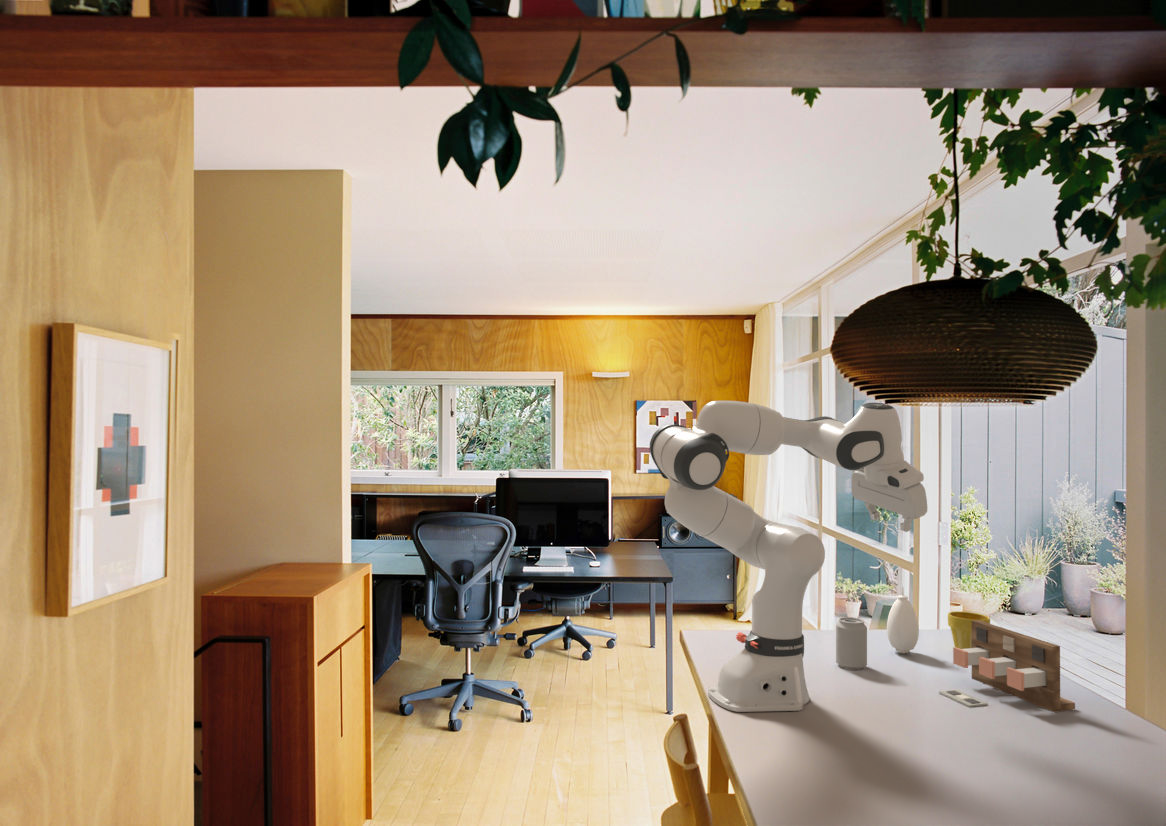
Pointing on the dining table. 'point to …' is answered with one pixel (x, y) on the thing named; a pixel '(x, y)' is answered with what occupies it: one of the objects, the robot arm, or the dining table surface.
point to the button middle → (996, 666)
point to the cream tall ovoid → (902, 625)
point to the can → (851, 643)
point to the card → (963, 698)
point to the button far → (969, 656)
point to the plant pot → (964, 627)
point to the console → (1022, 664)
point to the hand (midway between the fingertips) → (890, 524)
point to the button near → (1026, 678)
